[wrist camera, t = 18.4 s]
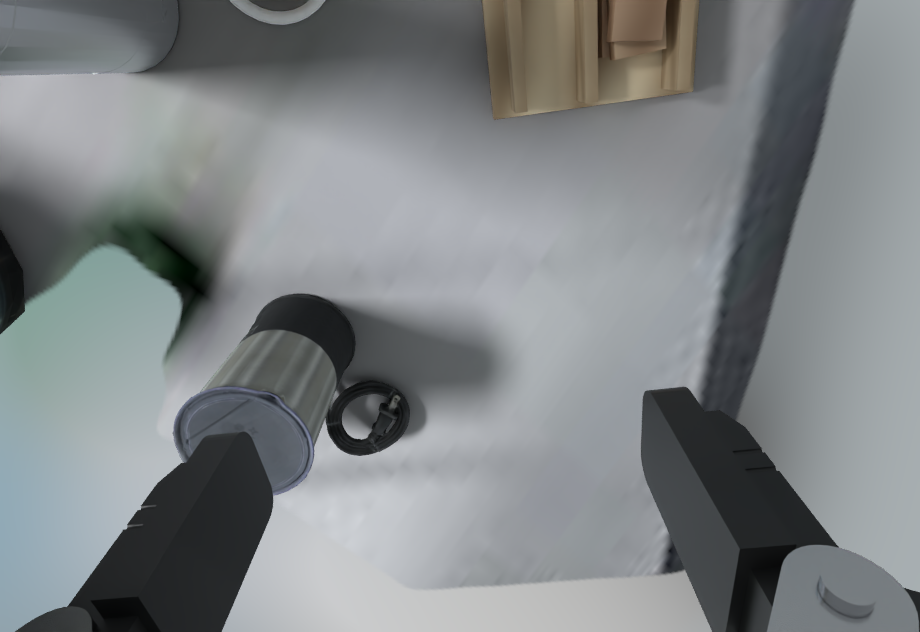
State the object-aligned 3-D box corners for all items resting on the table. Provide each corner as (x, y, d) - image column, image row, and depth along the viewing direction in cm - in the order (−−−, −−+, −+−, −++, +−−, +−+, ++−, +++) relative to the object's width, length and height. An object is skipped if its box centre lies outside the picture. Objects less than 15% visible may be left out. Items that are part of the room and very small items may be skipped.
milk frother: (261, 279, 43) (172, 373, 30) (437, 324, 45) (426, 432, 32) (245, 406, 50) (166, 531, 36) (400, 442, 52) (379, 573, 38)
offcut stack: (596, 61, 34) (611, 61, 31) (595, -49, 32) (612, -63, 28) (652, 53, 34) (673, 52, 31) (656, -59, 31) (680, -74, 28)
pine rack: (493, 117, 37) (496, 124, 33) (473, -82, 32) (475, -103, 28) (684, 90, 37) (711, 94, 32) (697, -119, 31) (732, -146, 27)
